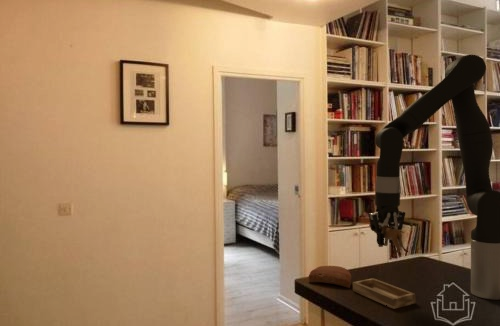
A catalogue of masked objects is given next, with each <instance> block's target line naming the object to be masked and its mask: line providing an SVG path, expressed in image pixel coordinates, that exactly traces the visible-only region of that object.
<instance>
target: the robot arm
mask: <svg viewBox="0 0 500 326" xmlns="http://www.w3.org/2000/svg"><path fill="white" fill-rule="evenodd" d="M486 70H487V65H486V62H485V60H484V59H483V58H482V57H481V56H480V55H477V54H465V55H462V56H460V57H459V58H457V59H455V60H453V61H451V62H450V63H449V64H448V65H447V67H446V68H445V71H444V78H443V79H442V80H441V81H440V82H438V83H437V84H436V85H434V87H432V88H431V89H430V90H428V91H426V92H425V93H424V94H422V95H421V96H419V98H418V99H416V100H415V101H413V102H412V103H411V104H409V106H408V107H406V108H405V109H404V110H403V111H402V112H401V113H400V114H399V115H398V116H397V117H396V118H394V119H393V120H391V121H390V122H389V123H388V124H386V125H384V126H383V127H382V128H380V130H378V131H377V133H376V135H375V138H374V142H375V143H374V144H375V145H376V147H378V149H379V158H378V159H377V161H376V169H375V170H376V171H375V172H376V175H375V176H376V177H375V178H376V179H375V185H374V187H375V188H374V191H375V192H374V193H375V194H374V205H375V206H376V209H375V211H374V212H369V213H368V215H367V216H368V220H369V224H370V225H371V227H370V230H371V231H372V232H374V231H375V232H376V233H377V234H376V233H375V232H374V233H375V234H376V243H377V246H378V245H381V246H382V245H383V246H384V243H385V238H384V234H383V233H384V231H385V227H387V224H388V226H389V228H391V229H398V230H399V231H402V229H403V226H404V222H405V218H406V212H405V211H401V210H399V207H400V205H401V179H400V178H401V177H400V176H401V174H400V173H401V170H400V169H401V164H400V163H401V158H402V154H403V153H402V152H403V147H404V138H405V137H406V136H408V135H409V134H411V133H413V132H415V131H416V130H418V129H419V128H420V127H422V125H424V124H425V123H426V122H427V121H428V120H429V119H430V118H431V117H432V116H433V115H435V114H436V113H437V112H438V111H439V110H441V108H442V107H443V106H445V105H446V104H447V103H449V102H450V101H451V104H452V108H453V109H452V110H453V116H454V123H455V127H456V135H457V141H458V146H459V152H460V157H461V161H462V163H461V164H462V167H463V168H462V169H463V172H464V179H465V197H466V198H465V199H466V206H467V208H468V210H469V211H470V212H471V213H472V214H473V215H475V216H476V224H475V227H474V228H473V229H471V230H470V293H471V294H472V295H474V296H475V297H478V298H482V299H487V300H494V301H495V300H497V301H498V300H500V191H499V190H496V189H493V187H492V183H491V178H490V164H491V160H492V156H493V150H494V142H493V135H492V131H491V126H490V123H489V121H488V119H487V117H486V116H485V113H484V112H483V111H482V109H481V108H480V106H479V103H478V101H477V98H476V93H475V91H476V90H475V84H477V83H479V81H480V80H482V78H483V77H484V76H485V74H486ZM381 222H382V223H381ZM380 227H381V229H380ZM388 243H389V244H391V245H394V244H393V242H392V240H389V239H388Z"/></svg>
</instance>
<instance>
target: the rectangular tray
mask: <svg viewBox="0 0 500 326" xmlns="http://www.w3.org/2000/svg"><path fill="white" fill-rule="evenodd" d="M352 292H355V293H357V294H360V295H361V296H363V297H366V298H367V299H368V298H369V299H370V300H373V301H374V302H377V303H379V304H382V305H383V306H386V305H387V306H386V307H388V308H390V309H393V310H395V309H398V308H402V307H407V306H411V305H414V304H416V293H414V292H411V291H408V290H406V289H404V288H400V287H397V286H396V285H393V284H390V283H387V282H385V281H382V280H379V279H376V278H374V277H373V278H367V279H363V280H357V281H352Z"/></svg>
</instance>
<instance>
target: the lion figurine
mask: <svg viewBox="0 0 500 326" xmlns="http://www.w3.org/2000/svg"><path fill="white" fill-rule="evenodd" d="M381 223H382V222H381ZM368 226H369V228H371V225H370V223H369V225H368ZM380 229H381V227H380ZM373 232H374V233H375V234H376V235H377V233H376V232H375V231H373ZM383 234H384V245H382V246H381V245H378V244H377V246H378V247H379V248H383V247H388V243H389V240H392V242H393V244H392V245H394V246H395V248H396V250H394V252H395V253H396V254H398V253H400V252H401V251H402V249H403V251H404V252H406V253H409V250H408V249H406V247H405V246H404V243H403V239H402V238H403V236H402V232H401V230H398V229H391V228H389V225H388V224H387V227H385V231H384V233H383Z"/></svg>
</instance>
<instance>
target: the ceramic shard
mask: <svg viewBox="0 0 500 326" xmlns="http://www.w3.org/2000/svg"><path fill="white" fill-rule="evenodd" d="M351 282H352V274H351V273H350V271H349V269H347V268H345V267H342V266H339V265H338V266H337V265H321V266H318V267H316V268H314V269H312V270H310V272H309V274H308V284H309V283H322V284H323V283H325V284H333V285H335V286H336V285H337V286H341V287H344V288H348V289H350V288H351Z"/></svg>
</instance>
